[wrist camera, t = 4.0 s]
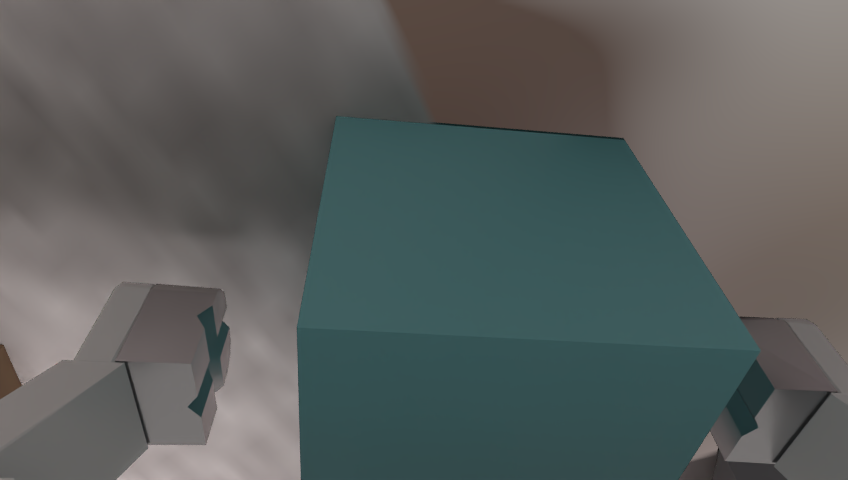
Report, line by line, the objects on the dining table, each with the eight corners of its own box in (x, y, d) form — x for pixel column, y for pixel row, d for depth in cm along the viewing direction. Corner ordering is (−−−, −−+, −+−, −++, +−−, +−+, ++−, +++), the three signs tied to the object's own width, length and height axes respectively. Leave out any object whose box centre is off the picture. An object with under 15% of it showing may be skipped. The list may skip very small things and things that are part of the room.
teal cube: (623, 138, 11) (761, 350, 7) (555, 337, 14) (621, 566, 10) (336, 113, 10) (296, 327, 6) (331, 326, 13) (302, 562, 9)
